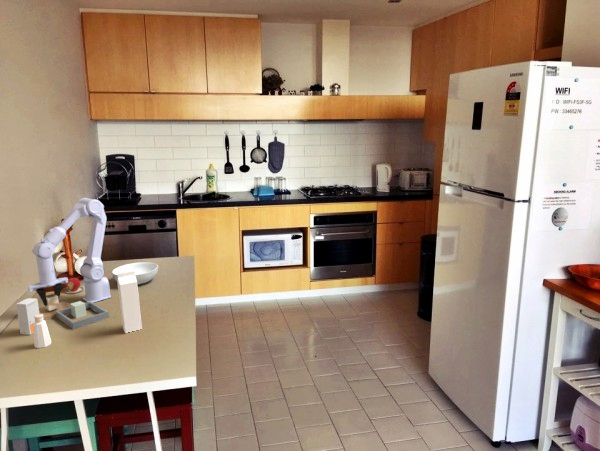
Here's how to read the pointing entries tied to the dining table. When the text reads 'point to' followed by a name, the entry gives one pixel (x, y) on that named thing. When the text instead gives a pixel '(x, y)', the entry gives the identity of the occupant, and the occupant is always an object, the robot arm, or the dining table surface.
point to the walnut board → (52, 313)
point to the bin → (102, 315)
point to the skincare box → (27, 315)
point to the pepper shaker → (41, 332)
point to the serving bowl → (138, 271)
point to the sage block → (78, 309)
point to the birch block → (52, 302)
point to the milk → (129, 301)
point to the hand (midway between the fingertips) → (51, 303)
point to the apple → (74, 286)
